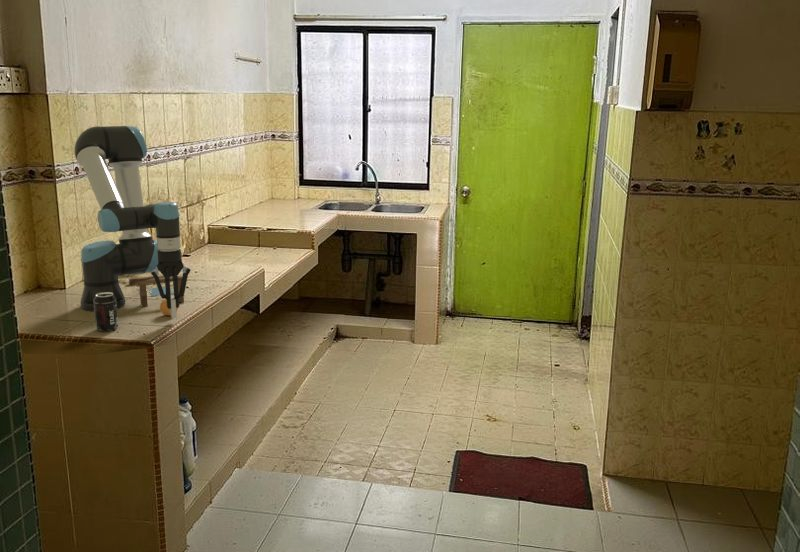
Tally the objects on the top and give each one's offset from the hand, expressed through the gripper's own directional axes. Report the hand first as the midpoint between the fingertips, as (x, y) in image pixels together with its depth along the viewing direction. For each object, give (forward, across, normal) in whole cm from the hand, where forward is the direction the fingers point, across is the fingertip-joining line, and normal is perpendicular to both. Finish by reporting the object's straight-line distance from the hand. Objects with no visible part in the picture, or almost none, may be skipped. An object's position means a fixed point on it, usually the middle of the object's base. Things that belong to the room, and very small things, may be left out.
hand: (173, 317), depth 239 cm
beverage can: (+2, -21, +2) cm, 21 cm away
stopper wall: (+2, 0, +60) cm, 60 cm away
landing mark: (+2, 0, +44) cm, 44 cm away
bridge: (+2, 0, +26) cm, 26 cm away
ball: (-1, 0, +10) cm, 10 cm away
